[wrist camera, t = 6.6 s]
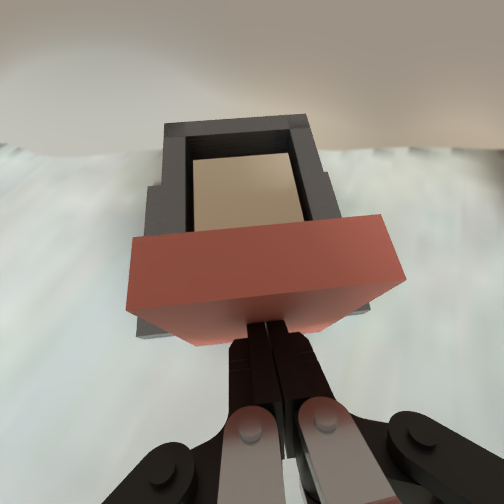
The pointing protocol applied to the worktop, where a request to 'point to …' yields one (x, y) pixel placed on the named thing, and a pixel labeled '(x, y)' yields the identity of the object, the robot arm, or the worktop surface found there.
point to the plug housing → (224, 146)
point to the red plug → (257, 258)
